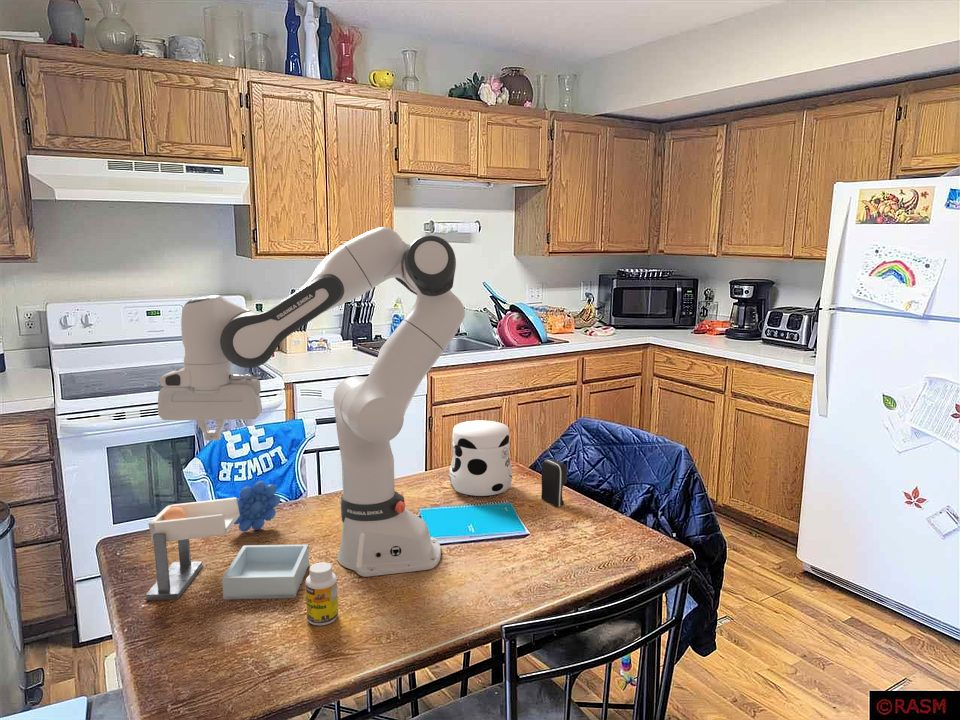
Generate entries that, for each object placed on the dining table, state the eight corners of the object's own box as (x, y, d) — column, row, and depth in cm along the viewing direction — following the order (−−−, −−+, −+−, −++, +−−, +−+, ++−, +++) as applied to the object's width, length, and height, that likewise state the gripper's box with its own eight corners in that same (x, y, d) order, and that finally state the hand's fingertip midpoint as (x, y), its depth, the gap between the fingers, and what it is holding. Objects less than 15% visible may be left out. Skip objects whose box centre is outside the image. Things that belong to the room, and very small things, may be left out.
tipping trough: (250, 501, 144) (247, 483, 143) (225, 534, 128) (221, 515, 127) (185, 508, 144) (182, 491, 143) (152, 543, 128) (148, 523, 127)
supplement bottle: (301, 624, 120) (298, 571, 118) (317, 608, 125) (315, 557, 123) (328, 629, 118) (326, 576, 116) (343, 613, 124) (341, 562, 122)
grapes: (277, 518, 165) (274, 472, 163) (284, 528, 159) (281, 480, 157) (227, 528, 159) (224, 480, 157) (233, 539, 153) (230, 490, 151)
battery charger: (568, 505, 173) (569, 463, 171) (557, 508, 171) (558, 466, 169) (551, 496, 179) (552, 456, 177) (540, 499, 177) (541, 458, 175)
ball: (192, 512, 134) (176, 499, 133) (185, 520, 130) (168, 507, 129) (180, 526, 134) (164, 513, 133) (172, 534, 130) (155, 522, 129)
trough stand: (202, 566, 141) (198, 508, 138) (178, 599, 128) (172, 536, 125) (173, 567, 140) (168, 509, 138) (146, 600, 128) (140, 537, 125)
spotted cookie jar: (524, 490, 184) (526, 427, 180) (481, 508, 171) (482, 441, 168) (479, 474, 195) (479, 415, 192) (436, 490, 183) (435, 428, 180)
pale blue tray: (309, 563, 142) (308, 544, 141) (294, 598, 129) (293, 576, 128) (244, 565, 141) (243, 545, 140) (223, 599, 128) (221, 578, 127)
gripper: (263, 371, 140) (267, 434, 142) (164, 371, 139) (170, 435, 141) (255, 377, 133) (259, 443, 136) (151, 378, 133) (157, 444, 135)
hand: (213, 439), depth 139 cm, fingers closed
